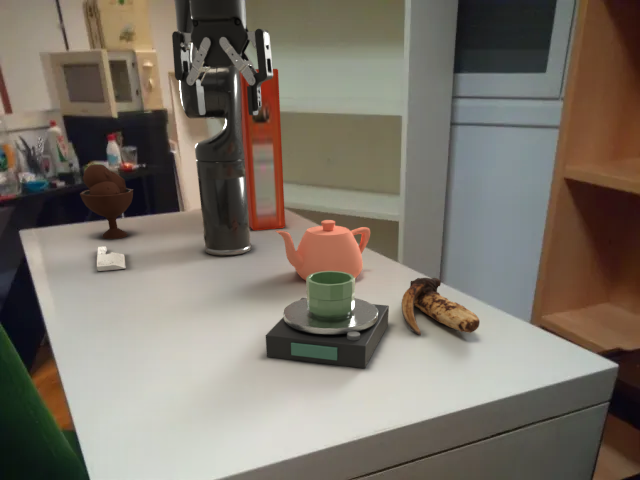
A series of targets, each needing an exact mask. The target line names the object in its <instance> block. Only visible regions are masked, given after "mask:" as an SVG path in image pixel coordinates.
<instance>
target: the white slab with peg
mask: <svg viewBox="0 0 640 480" xmlns="http://www.w3.org/2000/svg"><path fill="white" fill-rule="evenodd" d="M107 251H108V248H107V246H105V245H104V246H97V255H96V270H97V272H102V271H113V270H126V258H125V254H124V253H118V252H113V251H110V253H107Z"/></svg>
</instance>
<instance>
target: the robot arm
mask: <svg viewBox="0 0 640 480" xmlns="http://www.w3.org/2000/svg"><path fill="white" fill-rule="evenodd" d="M173 2H174V11H175V23H176V30H175V31H173V32H172V33H171V39H172V40H171V41H172V56H173V68H174V69H173V70H174V78H175V80H177V81H178V82H179V91H180V92H179V94H180V101H181V106H182V109H183V112H184V114H185V115H186V117H187V118H189V119H191V120H224V122H225V123H224V126H223V128H221V129H220V131H218V132H217V133H215V134H214V135H213V136H210V137H208V138H205V139H203V140H201V141H198V142H197V143H196V144H195V146H194V154H195V163H196V171H197V172H196V173H197V181H198V191H199V199H200V209H201V220H202V228H203V240H204V252H206V253H207V254H210V255H213V256H237V255H242V254H246V253H248V252H250V251H251V250H252V242H251V231H250V226H249V214H248V199H247V184H246V171H245V159H244V158H245V156H244V145H243V130H242V91H241V78H240V72H241V73H242V75H243V76H244V78H245V79H246V81H247V82H248V84H249V86H247V97H248V113H249V115H258V111H259V110H261V107H262V104H261V84H262V83H263V82H265V81H267V80H270V79H272V77H273V69H274V68H273V59H272V46H271V38H270V37H271V36H270V32H269V30H267V29H263V28H257V29H255V30H252V31H251V30H250V31H249V29H248V25H247V4H246V0H173ZM250 42H251V45H252V48H253V49H255V52H256V59H257V67H258V68H255V66H254V65H255V64H254V63H253V61H252V60H251V59H250V57H249V55H248V54H247V53H246V50H247V48H248V47H249V44H250ZM256 69H258V70H259V72H257V71H256ZM239 71H240V72H239Z"/></svg>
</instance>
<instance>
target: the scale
mask: <svg viewBox="0 0 640 480" xmlns="http://www.w3.org/2000/svg"><path fill="white" fill-rule="evenodd" d="M305 298H306V297H301V298H300V299H299V300H301V299H305ZM371 304H372V305H374V306H375V307H376V308H377V310H378V319H377V321H376V323H375V324H374V325H372V326H371V327H369V328H367V329H364V330H361V331H357V332H355V331H352V332H348V333H347V334H334V335H327V334H314V333H308V332H304V331H300V330H297V329H294V328H292V327H291V326H289V325H288V324H286V322H285V321H284V316H282V318H281V319H280V320H279V321H278V322H277V323H276V324H274V326H273V327H272V328H271V329H270V330H269V331H268V332H267V333H266V334H265V350H266V351H265V352H266V358H272V359H273V358H274V359H284V360H292V361H299V362H308V363H317V364H325V365H332V366H333V365H334V366H342V367H352V368H357V369H359V368H360V369H366V368H367V365H368V363H369V362H370V359H372V356H373V354H374V352H375V350H376V348H377V346H378V345H379V343H380V341H381V338H382V337H383V335H384V333H385V331H386V330H387V327H388V326H389V313H390V312H389V309H390V308H389V307H390V306H389V304H388V305H387V304H375V303H371Z"/></svg>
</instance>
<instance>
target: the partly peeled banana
mask: <svg viewBox="0 0 640 480" xmlns="http://www.w3.org/2000/svg"><path fill="white" fill-rule="evenodd" d="M441 285H442V281H441V279H439V278H437V277H431V278H430V277H417V278H415V279H414V280H410V286H409V288H408V289H407V290H406V291H405V292H404V293H403V295H402V299H401V312H402V316H403V318H404V321H405V323H406V324H407V326H408V327H409V328H410V329H411V330H412V331H413V332H414V333H415V334H417V335H418V336H421V335H422V331H421V329H420V327H419V326H418V323H417V319H416V317H415V310H414V309H415V307H416V308H418V309H419V310H420V311H421V312H423V313H424V314H425V315H427V316H429V317H431V318H432V319H434V320H435V321H437V322H438V323H440V324H442V325H445V326H446V327H449V328H452V329H454V330H457V331H460V332H462V333H464V332H465V333H469V334H470V333H473V332H475V331H477V330H478V328H479V327H480V318H479V317H478V315H476V314H475V313H474V312H473V311H471V310H470V309H468V308H467V307H466V306H464V305H461V304H460V303H458V302H454V301H452V300H449V298H448V297H444V296H443V295H441V294H440V292H438V289H439V287H441Z"/></svg>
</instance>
